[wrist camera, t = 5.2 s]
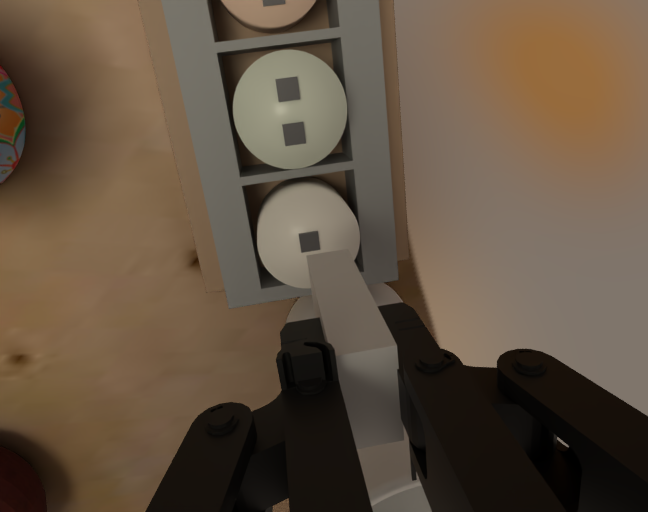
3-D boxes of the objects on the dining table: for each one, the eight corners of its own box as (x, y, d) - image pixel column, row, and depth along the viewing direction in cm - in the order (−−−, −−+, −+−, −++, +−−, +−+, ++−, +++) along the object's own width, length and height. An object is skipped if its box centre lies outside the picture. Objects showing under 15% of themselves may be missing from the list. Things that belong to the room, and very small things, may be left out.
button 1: (265, 270, 25) (266, 297, 22) (249, 184, 24) (248, 199, 21) (352, 256, 26) (365, 280, 23) (342, 170, 24) (355, 183, 21)
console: (208, 284, 28) (200, 317, 24) (120, -96, 21) (88, -136, 17) (403, 252, 29) (426, 278, 25) (379, -122, 22) (404, -165, 18)
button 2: (246, 164, 23) (244, 177, 20) (227, 60, 22) (222, 57, 18) (340, 150, 24) (353, 161, 21) (329, 48, 22) (341, 42, 19)
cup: (259, 353, 30) (261, 618, 15) (330, 251, 28) (411, 437, 13) (361, 403, 33) (449, 674, 18) (433, 311, 31) (597, 526, 16)
